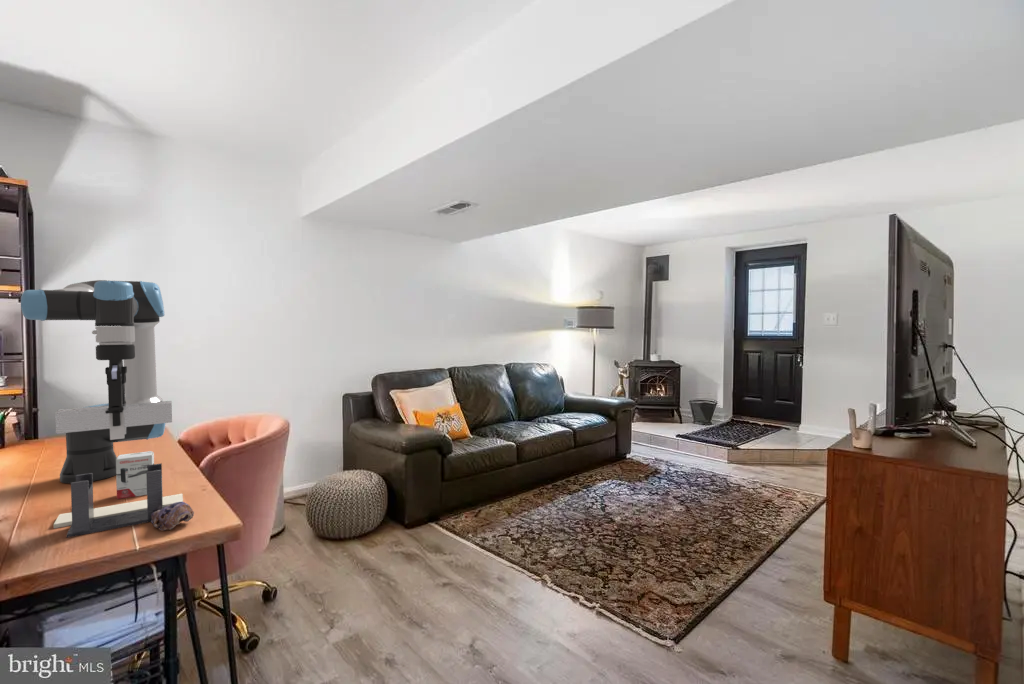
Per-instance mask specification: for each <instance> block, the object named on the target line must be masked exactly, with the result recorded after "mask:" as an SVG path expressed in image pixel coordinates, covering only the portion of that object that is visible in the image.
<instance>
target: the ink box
mask: <svg viewBox="0 0 1024 684" xmlns="http://www.w3.org/2000/svg"><path fill="white" fill-rule="evenodd" d="M116 457H117V459H116V475H115V476H116V477H115V478H116V499H117V500H120V499H121V500H122V499H128V498H129V499H130V498H135V497H140V496H147V476H146V472H148V469H147V466H148V465H153V464H155V452H154V451H152V450H148V451H142V452H132V453H125V454H124V453H123V454H119V455H118V456H116Z"/></svg>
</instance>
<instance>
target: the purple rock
mask: <svg viewBox="0 0 1024 684" xmlns="http://www.w3.org/2000/svg"><path fill="white" fill-rule="evenodd" d="M194 514H195V511H194V510H193V508H192V507H191V506H190V504H188V503H187V502H185V501H183V502H176V503H173V504H170V505H168V506H166V507H164V508H163V509H161V510H158V511H155V512H153V513H152V514H151V518H152V520H151V521H152V522H151V524H152V525H153V527H154V528H157V529H158V530H159V531H162V532H163V531H167V530H173V529H174V528H175V527H176V526H178V525H180V523H182V522H185V523H187V522H189V521H191V520H192V519H193V518H194Z"/></svg>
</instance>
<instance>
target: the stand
mask: <svg viewBox="0 0 1024 684" xmlns="http://www.w3.org/2000/svg"><path fill="white" fill-rule="evenodd" d="M162 468H163V465H162V462H161V463H154V464H153V465H148V466H147V469H148V472H146V476H147V495H146V500H147V510H142V511H136V512H131V513H125V514H120V515H114V516H109V517H103V518H97V519H94V484H93V483H94V481H93V477H92V473H87V474H80V475H76V482H71V483H70V499H71V501H70V506H71V512H72V525H70V526H69V529H68V530H67V533H66V538H74V537H77V536H78V537H79V536H83V535H88V534H95V533H98V532H99V533H100V532H103V531H105V532H106V531H110V530H115V529H119V528H125V527H130V526H136V525H140V524H141V525H142V524H146V523H152V521H151V520H152V518H151V514H152V513H153V512H155V511H158V510H161V509H163V508H164V507H166V506H164V507H163V497H164V496H163V469H162Z"/></svg>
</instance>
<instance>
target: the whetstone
mask: <svg viewBox="0 0 1024 684" xmlns="http://www.w3.org/2000/svg"><path fill="white" fill-rule="evenodd" d="M172 403H173V402H172V400H165V401H164V400H162V402H149V403H136V404H123V412H124V427H130V426H140V425H150V424H161V423H165V424H168V423H173V413H172V411H173V409H172V406H173V405H172ZM83 407H84V408H83ZM83 407H74V408H73V407H72V408H61V409H60V408H59V409H58V410H57V411H55V417H54V418H55V419H54V420H55V434H66V433H69V432H79V431H89V430H99V429H110V421H109V413H107V414H106V412H105V411H109V410H108V408H109V406H97V407H88V406H83Z"/></svg>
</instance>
